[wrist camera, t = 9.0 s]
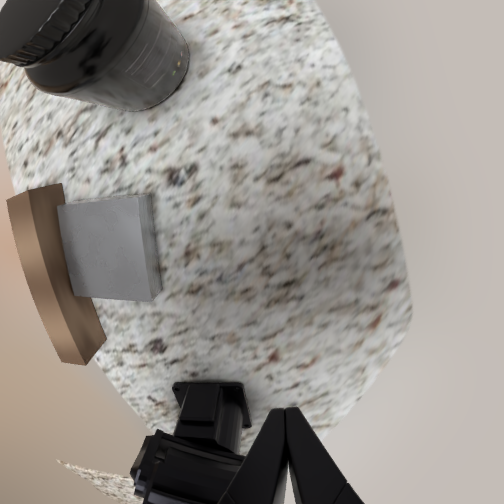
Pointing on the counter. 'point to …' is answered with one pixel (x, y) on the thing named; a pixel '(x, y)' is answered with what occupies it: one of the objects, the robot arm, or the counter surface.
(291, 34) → the counter surface
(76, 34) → the supplement bottle
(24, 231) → the curved brown bar
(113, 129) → the counter surface
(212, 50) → the counter surface
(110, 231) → the grey metal plate
